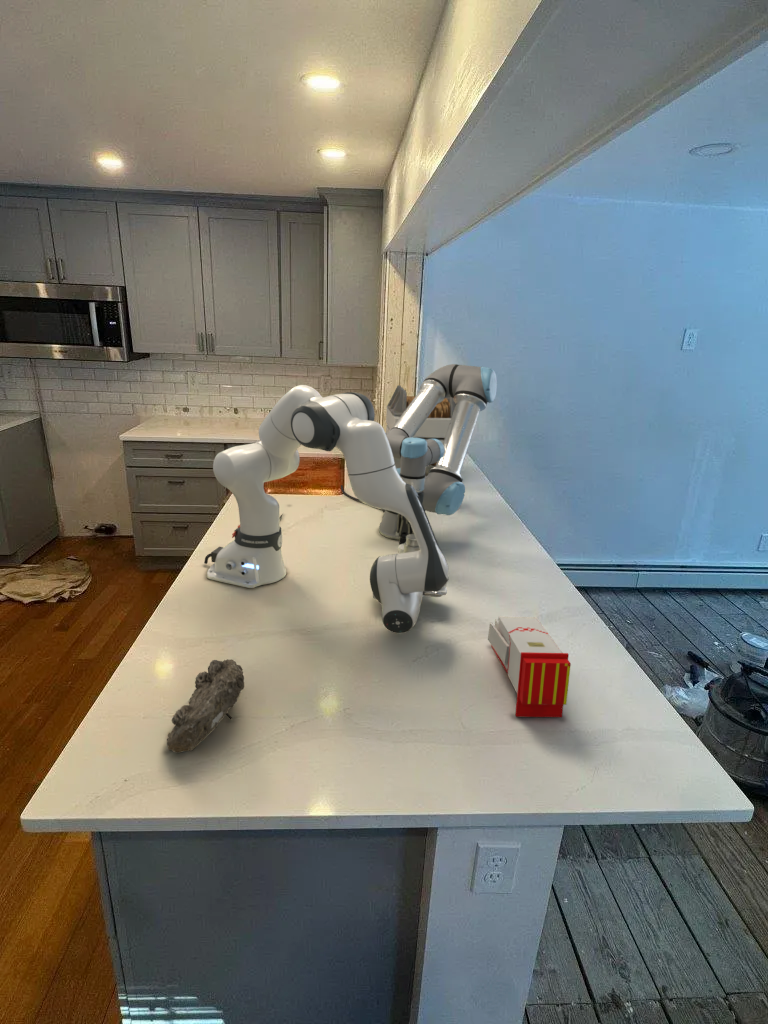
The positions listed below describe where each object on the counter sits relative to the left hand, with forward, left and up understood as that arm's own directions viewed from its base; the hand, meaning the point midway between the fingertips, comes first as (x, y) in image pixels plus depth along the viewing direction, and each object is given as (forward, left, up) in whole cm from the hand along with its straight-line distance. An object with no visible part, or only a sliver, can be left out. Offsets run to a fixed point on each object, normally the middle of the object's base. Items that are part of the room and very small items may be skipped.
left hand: (412, 568), depth 159 cm
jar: (0, -1, -7) cm, 7 cm away
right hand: (-3, +18, -6) cm, 19 cm away
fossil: (-31, -61, -7) cm, 69 cm away
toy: (+28, -35, -7) cm, 45 cm away
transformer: (-9, +121, -7) cm, 122 cm away
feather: (-53, +45, -7) cm, 70 cm away
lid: (-3, +18, -2) cm, 19 cm away
